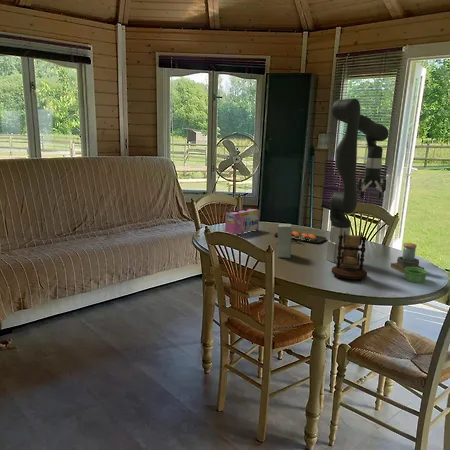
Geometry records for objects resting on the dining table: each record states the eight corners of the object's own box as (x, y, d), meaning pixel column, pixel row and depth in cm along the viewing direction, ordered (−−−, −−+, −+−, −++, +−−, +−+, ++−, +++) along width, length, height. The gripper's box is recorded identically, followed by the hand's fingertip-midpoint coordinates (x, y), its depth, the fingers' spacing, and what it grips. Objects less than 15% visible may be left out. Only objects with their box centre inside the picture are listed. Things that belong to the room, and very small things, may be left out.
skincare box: (290, 258, 200) (292, 227, 196) (275, 257, 201) (277, 226, 198) (291, 253, 208) (293, 223, 204) (277, 252, 209) (278, 222, 206)
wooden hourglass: (364, 272, 182) (369, 229, 178) (368, 284, 168) (373, 237, 164) (330, 269, 185) (334, 226, 181) (331, 280, 171) (335, 234, 167)
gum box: (250, 228, 262) (251, 207, 259) (260, 230, 257) (261, 209, 254) (224, 234, 246) (225, 211, 243) (234, 236, 240) (234, 213, 237)
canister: (407, 267, 184) (409, 246, 182) (398, 264, 189) (400, 243, 187) (416, 266, 186) (419, 245, 184) (407, 263, 191) (410, 242, 188)
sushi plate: (327, 240, 239) (328, 234, 238) (308, 252, 214) (309, 245, 213) (282, 233, 254) (282, 227, 253) (259, 243, 229) (259, 236, 228)
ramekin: (428, 279, 175) (430, 270, 174) (422, 285, 169) (423, 275, 168) (407, 274, 181) (408, 265, 180) (400, 279, 174) (401, 270, 174)
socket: (406, 274, 181) (407, 263, 180) (390, 267, 190) (391, 257, 189) (423, 272, 185) (425, 261, 184) (407, 265, 194) (408, 255, 193)
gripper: (362, 167, 203) (358, 199, 206) (390, 168, 203) (386, 200, 207) (357, 166, 210) (354, 197, 214) (384, 166, 210) (380, 198, 214)
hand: (370, 198), depth 210 cm, fingers open, 8 cm apart
